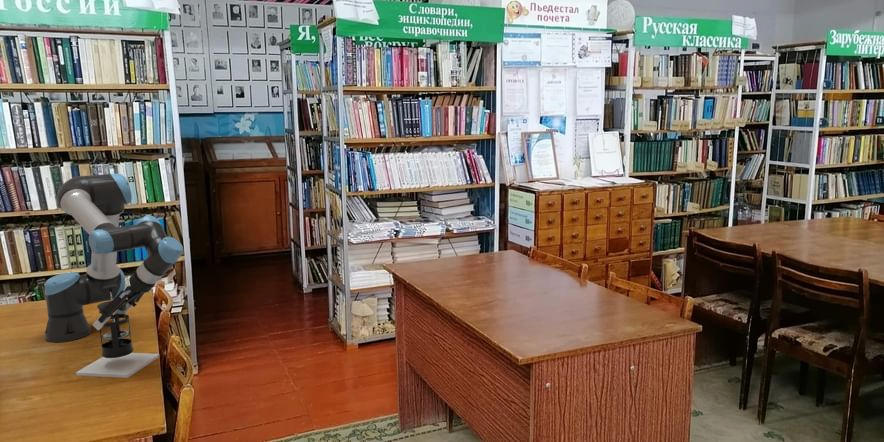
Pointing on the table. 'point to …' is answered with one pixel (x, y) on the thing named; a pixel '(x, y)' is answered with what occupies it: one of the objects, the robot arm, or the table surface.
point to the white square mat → (118, 365)
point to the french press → (115, 332)
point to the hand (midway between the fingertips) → (106, 321)
